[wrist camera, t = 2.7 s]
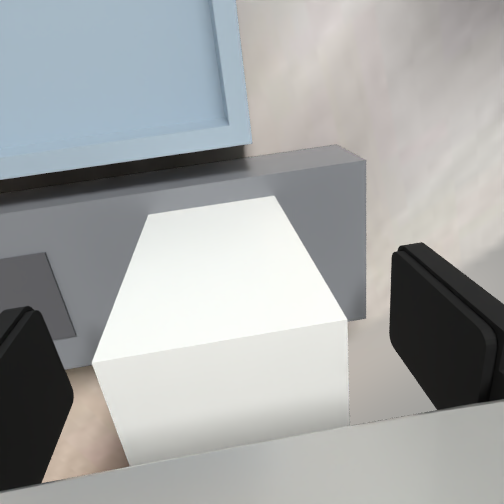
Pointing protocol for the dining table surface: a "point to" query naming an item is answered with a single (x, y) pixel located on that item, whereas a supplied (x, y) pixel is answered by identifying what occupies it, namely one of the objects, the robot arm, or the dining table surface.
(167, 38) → the tray
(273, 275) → the block
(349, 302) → the strip
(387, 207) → the dining table surface
